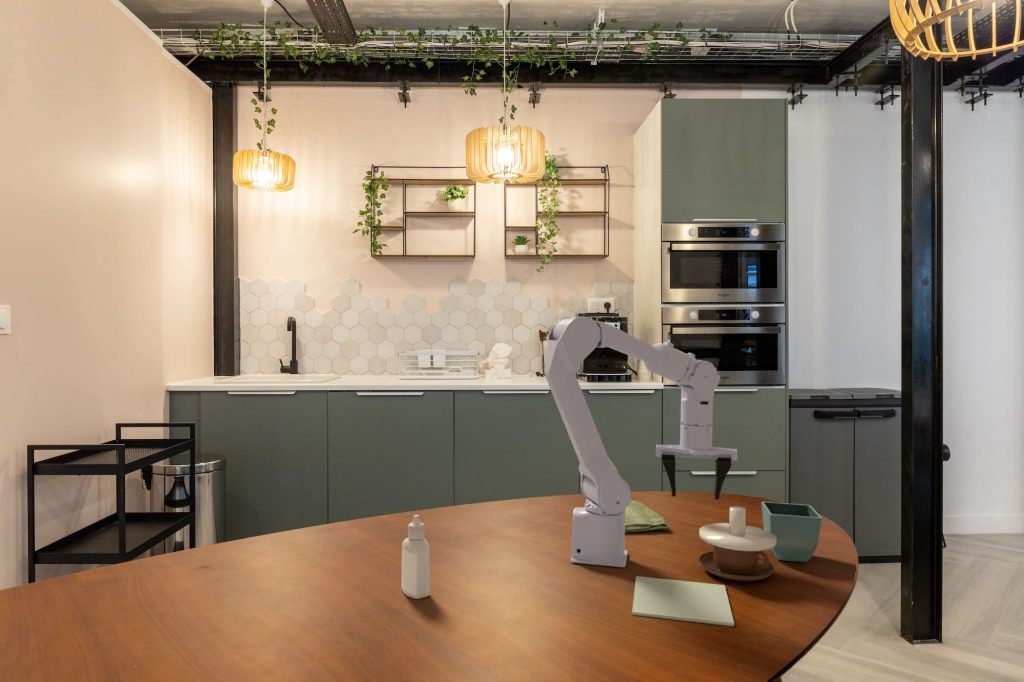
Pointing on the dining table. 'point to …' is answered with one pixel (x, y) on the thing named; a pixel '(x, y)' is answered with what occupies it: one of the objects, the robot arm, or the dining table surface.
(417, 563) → the eye dropper bottle
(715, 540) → the lid
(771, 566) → the cup and saucer
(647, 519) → the washcloth
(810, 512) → the flower pot
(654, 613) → the plate
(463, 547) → the dining table surface
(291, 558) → the dining table surface
